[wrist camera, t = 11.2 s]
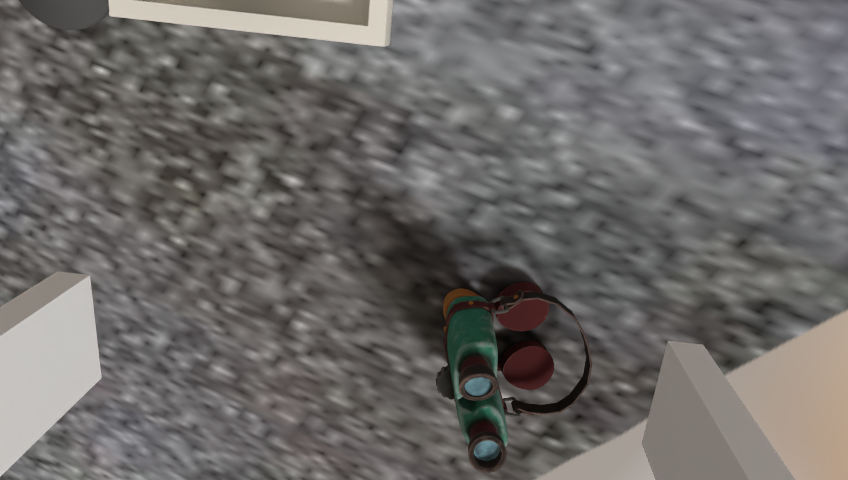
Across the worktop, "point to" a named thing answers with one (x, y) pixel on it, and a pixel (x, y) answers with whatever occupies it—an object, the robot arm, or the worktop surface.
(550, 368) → the binoculars
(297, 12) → the mount tray
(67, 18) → the lens cap
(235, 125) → the worktop surface
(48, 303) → the robot arm
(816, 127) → the worktop surface
